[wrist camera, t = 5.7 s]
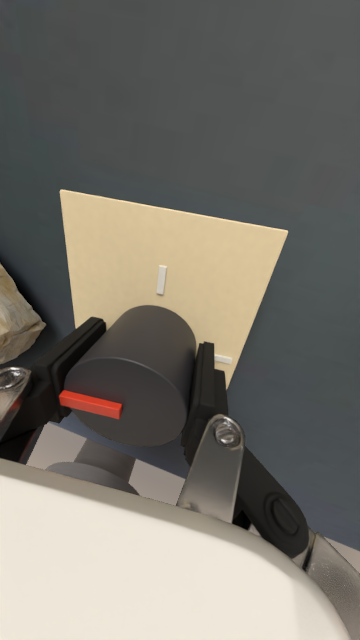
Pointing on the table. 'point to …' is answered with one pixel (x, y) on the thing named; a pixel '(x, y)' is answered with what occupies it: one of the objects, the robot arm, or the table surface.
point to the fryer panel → (169, 267)
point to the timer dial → (135, 378)
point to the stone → (15, 320)
